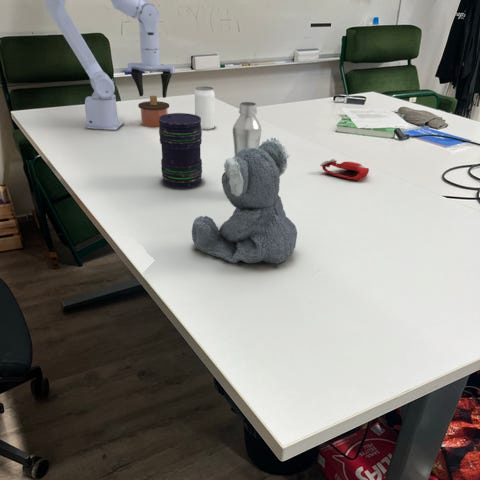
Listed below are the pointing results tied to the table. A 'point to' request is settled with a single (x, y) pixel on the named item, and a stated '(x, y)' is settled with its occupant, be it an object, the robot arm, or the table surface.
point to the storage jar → (181, 150)
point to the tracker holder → (347, 166)
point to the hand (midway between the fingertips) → (153, 96)
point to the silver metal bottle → (246, 128)
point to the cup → (152, 117)
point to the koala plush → (251, 210)
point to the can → (205, 106)
